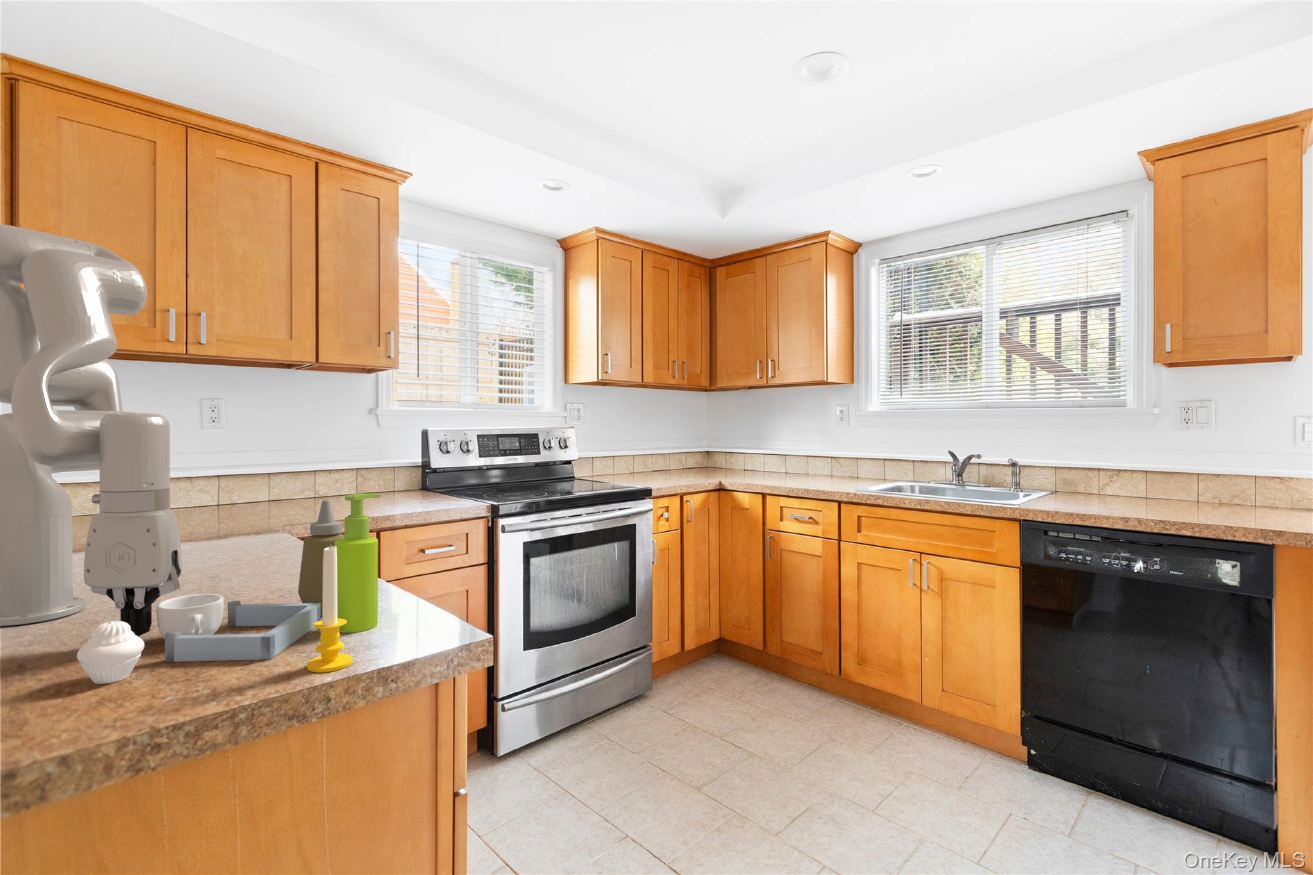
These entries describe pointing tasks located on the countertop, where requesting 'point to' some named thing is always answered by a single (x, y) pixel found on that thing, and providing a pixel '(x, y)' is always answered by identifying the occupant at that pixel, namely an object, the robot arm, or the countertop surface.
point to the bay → (288, 629)
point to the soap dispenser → (357, 570)
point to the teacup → (190, 614)
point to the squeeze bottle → (317, 554)
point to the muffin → (110, 652)
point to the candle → (329, 621)
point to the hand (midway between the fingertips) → (136, 634)
